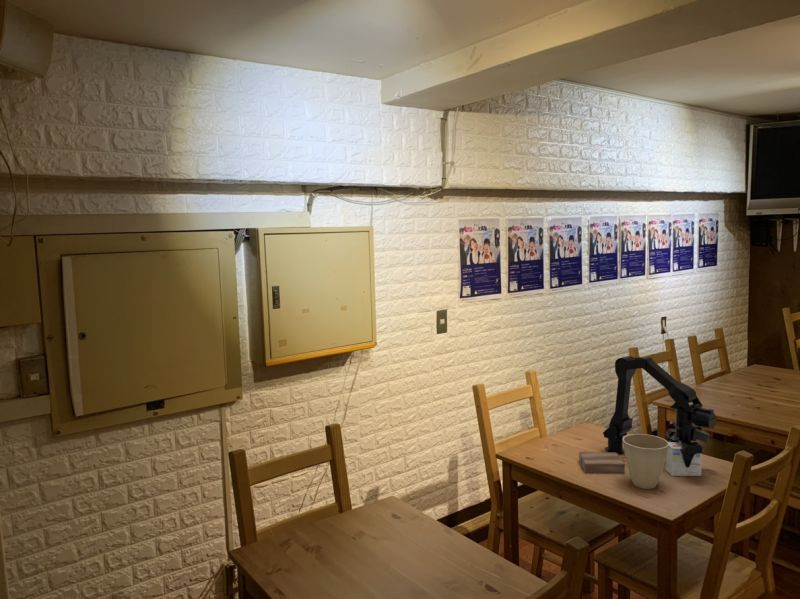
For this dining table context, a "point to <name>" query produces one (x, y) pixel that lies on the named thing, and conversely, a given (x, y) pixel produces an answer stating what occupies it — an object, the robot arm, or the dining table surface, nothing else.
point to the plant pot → (645, 458)
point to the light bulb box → (681, 462)
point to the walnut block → (601, 462)
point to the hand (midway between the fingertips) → (683, 463)
